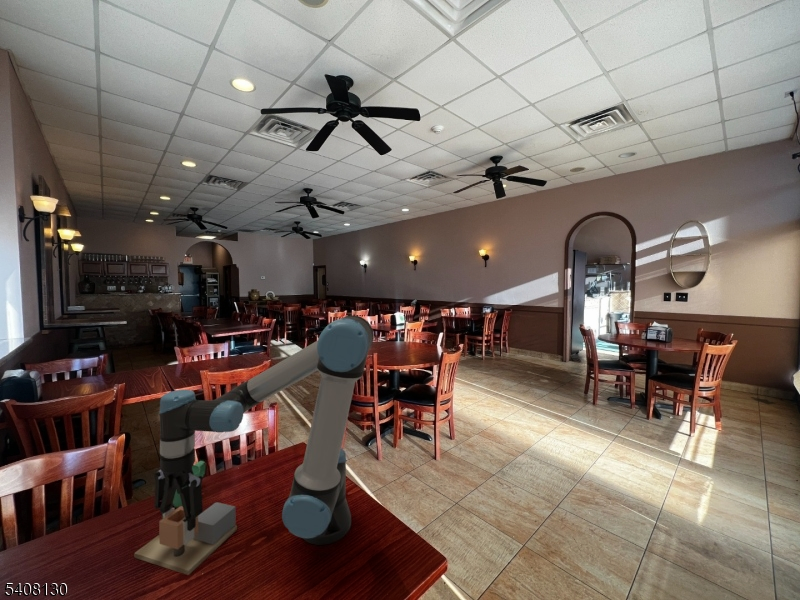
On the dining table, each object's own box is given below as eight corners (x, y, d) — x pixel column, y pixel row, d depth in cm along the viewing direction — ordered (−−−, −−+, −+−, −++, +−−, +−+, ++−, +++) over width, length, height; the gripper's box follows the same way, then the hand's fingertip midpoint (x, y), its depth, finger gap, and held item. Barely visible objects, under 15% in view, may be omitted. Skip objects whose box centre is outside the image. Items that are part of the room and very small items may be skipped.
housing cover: (235, 524, 97) (235, 506, 97) (213, 544, 89) (213, 525, 89) (216, 519, 99) (216, 501, 99) (192, 538, 91) (192, 520, 91)
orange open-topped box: (198, 532, 89) (198, 510, 88) (177, 549, 83) (177, 526, 83) (180, 527, 90) (180, 506, 90) (159, 543, 85) (159, 521, 84)
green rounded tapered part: (184, 514, 103) (184, 483, 102) (156, 511, 104) (156, 480, 104) (216, 486, 117) (216, 458, 117) (191, 483, 119) (191, 456, 118)
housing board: (236, 529, 97) (236, 509, 97) (188, 575, 81) (188, 551, 81) (188, 516, 102) (188, 497, 101) (134, 557, 86) (134, 535, 86)
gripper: (219, 450, 87) (219, 535, 88) (163, 439, 92) (164, 520, 93) (194, 465, 79) (194, 557, 80) (135, 452, 84) (136, 539, 85)
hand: (178, 537), depth 86 cm, fingers closed on orange open-topped box, 6 cm apart
